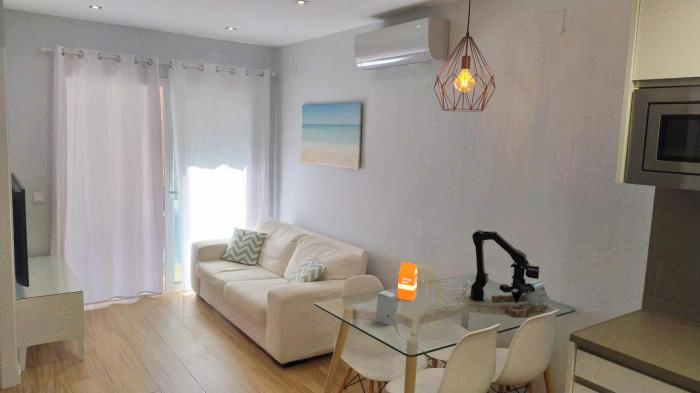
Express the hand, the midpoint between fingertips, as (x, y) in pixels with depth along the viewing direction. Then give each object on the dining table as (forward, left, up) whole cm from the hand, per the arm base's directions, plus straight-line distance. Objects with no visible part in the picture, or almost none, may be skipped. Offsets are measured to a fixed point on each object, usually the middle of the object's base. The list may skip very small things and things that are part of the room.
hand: (515, 302), depth 279 cm
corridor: (+1, -3, -2) cm, 4 cm away
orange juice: (-57, +18, -2) cm, 60 cm away
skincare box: (-78, -15, -2) cm, 80 cm away
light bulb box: (+14, 0, 0) cm, 14 cm away
